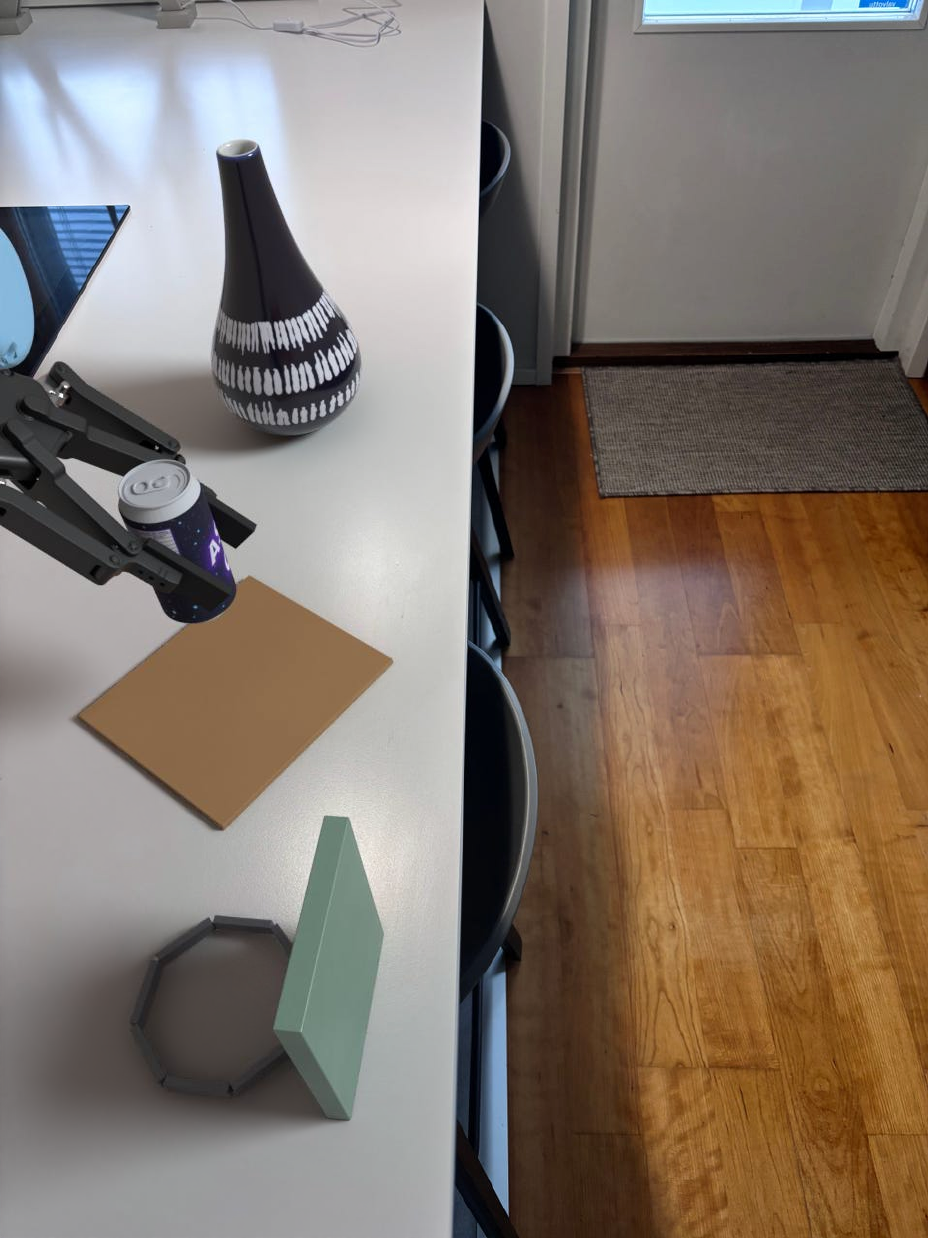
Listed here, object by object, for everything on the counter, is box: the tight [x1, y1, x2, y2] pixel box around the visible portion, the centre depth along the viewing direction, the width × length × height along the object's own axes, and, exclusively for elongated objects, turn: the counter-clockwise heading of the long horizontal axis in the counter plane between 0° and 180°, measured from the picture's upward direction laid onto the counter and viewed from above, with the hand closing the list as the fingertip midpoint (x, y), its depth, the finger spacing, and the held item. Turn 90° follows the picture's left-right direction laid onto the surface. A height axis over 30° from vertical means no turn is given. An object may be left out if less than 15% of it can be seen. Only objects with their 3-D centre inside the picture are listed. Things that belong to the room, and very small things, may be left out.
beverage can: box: [117, 459, 237, 624], centre depth 68 cm, size 6×6×12 cm
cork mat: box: [78, 574, 394, 831], centre depth 81 cm, size 20×18×1 cm
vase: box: [210, 139, 363, 437], centre depth 96 cm, size 16×16×30 cm
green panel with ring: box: [128, 815, 385, 1121], centre depth 57 cm, size 15×12×16 cm
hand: (234, 567), depth 69 cm, fingers closed on beverage can, 6 cm apart
